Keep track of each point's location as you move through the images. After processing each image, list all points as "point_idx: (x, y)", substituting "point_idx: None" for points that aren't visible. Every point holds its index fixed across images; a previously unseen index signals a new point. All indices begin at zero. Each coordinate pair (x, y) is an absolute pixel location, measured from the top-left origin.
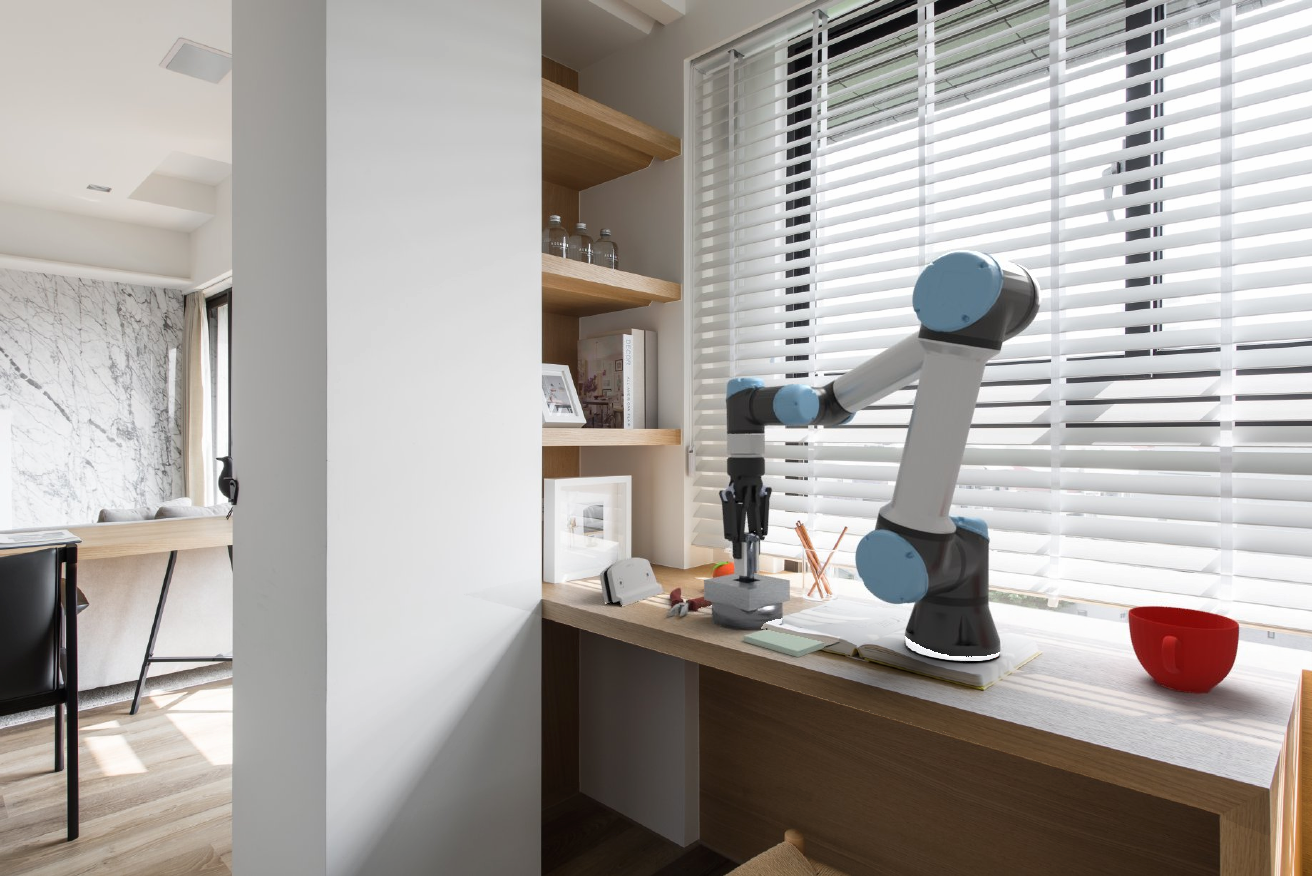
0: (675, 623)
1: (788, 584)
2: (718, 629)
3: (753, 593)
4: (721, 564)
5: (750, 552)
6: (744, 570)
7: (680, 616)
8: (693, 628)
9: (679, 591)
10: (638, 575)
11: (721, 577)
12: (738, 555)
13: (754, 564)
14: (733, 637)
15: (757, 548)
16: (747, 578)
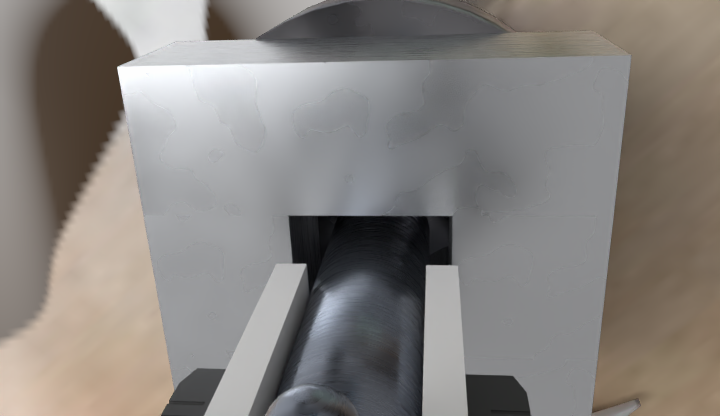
0: (692, 370)
1: (145, 61)
2: (634, 167)
3: (569, 51)
4: None
5: (367, 375)
6: (457, 289)
7: (638, 400)
8: (707, 260)
9: None
10: None
11: None
12: (516, 401)
13: (293, 323)
14: (708, 7)
15: (239, 394)
16: (407, 263)
